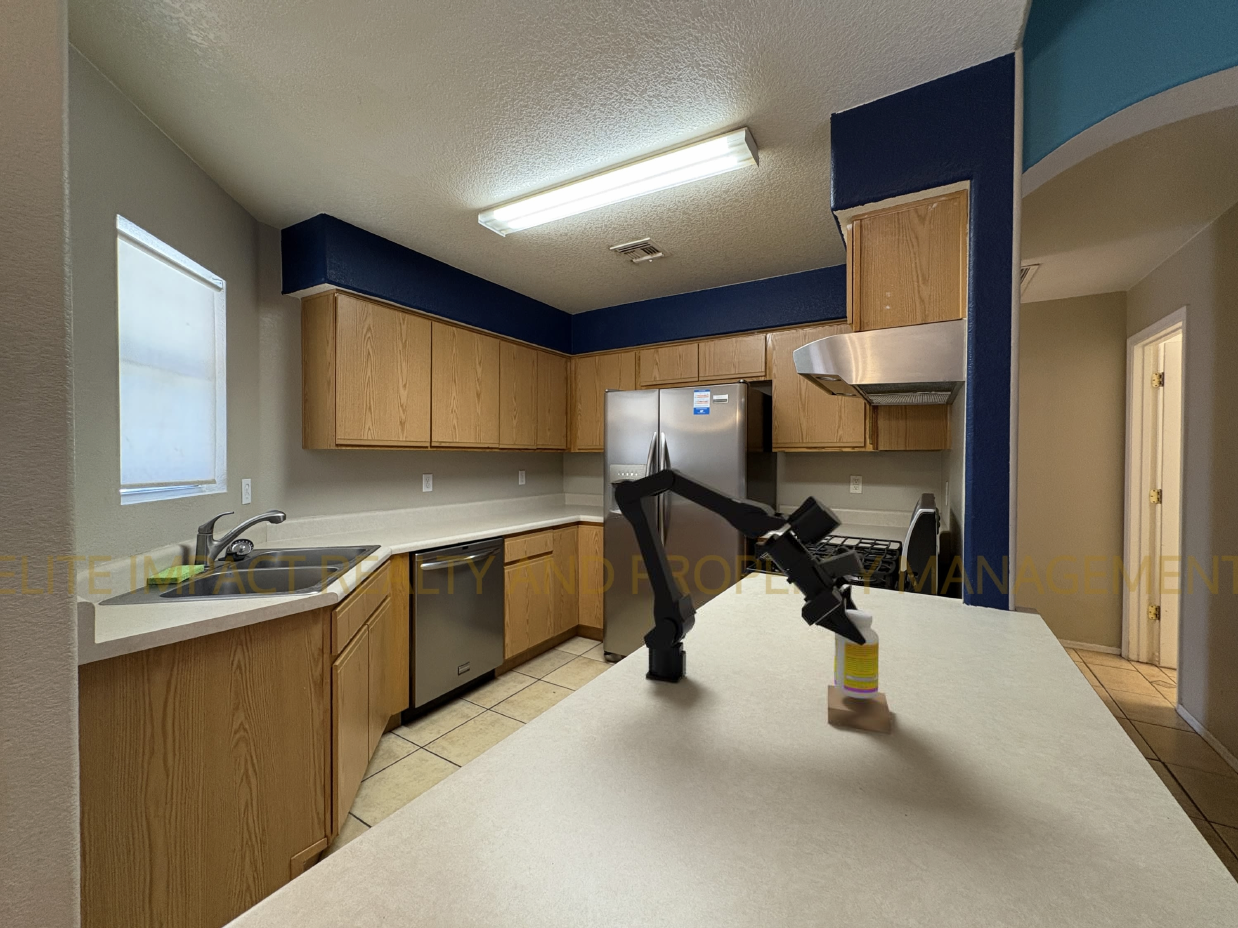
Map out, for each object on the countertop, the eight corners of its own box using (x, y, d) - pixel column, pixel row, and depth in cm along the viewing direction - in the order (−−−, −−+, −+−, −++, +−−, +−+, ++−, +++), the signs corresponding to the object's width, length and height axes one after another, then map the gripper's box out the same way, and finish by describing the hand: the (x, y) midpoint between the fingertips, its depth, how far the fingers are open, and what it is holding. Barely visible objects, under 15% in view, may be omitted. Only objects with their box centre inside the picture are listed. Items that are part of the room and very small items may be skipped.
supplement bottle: (887, 697, 84) (889, 618, 84) (852, 702, 82) (854, 621, 82) (858, 680, 90) (859, 606, 90) (825, 684, 89) (826, 609, 88)
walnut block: (827, 722, 84) (828, 707, 84) (827, 698, 92) (827, 684, 92) (890, 733, 80) (890, 717, 80) (884, 707, 89) (884, 693, 89)
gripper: (824, 539, 80) (906, 623, 74) (838, 526, 96) (906, 594, 91) (771, 584, 84) (845, 667, 78) (793, 564, 100) (855, 631, 95)
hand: (865, 636), depth 85 cm, fingers closed on supplement bottle, 7 cm apart
